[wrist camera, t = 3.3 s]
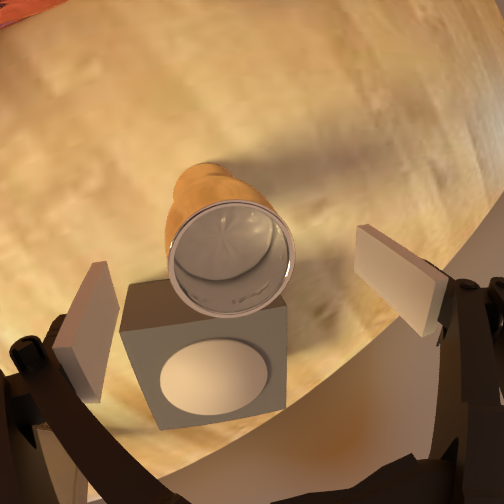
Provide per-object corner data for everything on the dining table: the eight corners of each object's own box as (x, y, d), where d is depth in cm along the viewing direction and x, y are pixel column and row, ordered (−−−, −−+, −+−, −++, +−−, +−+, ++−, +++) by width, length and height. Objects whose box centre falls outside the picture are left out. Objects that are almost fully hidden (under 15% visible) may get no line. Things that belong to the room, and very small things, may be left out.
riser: (128, 285, 31) (118, 335, 24) (262, 264, 34) (288, 308, 26) (158, 380, 37) (160, 433, 29) (267, 362, 39) (287, 411, 32)
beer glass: (160, 168, 27) (144, 216, 14) (235, 150, 28) (290, 180, 15) (179, 238, 30) (185, 335, 17) (248, 220, 31) (305, 301, 18)
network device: (80, 415, 37) (68, 536, 19) (97, 446, 40) (93, 553, 22) (-42, 397, 31) (-75, 486, 13) (-20, 429, 34) (-43, 513, 17)
